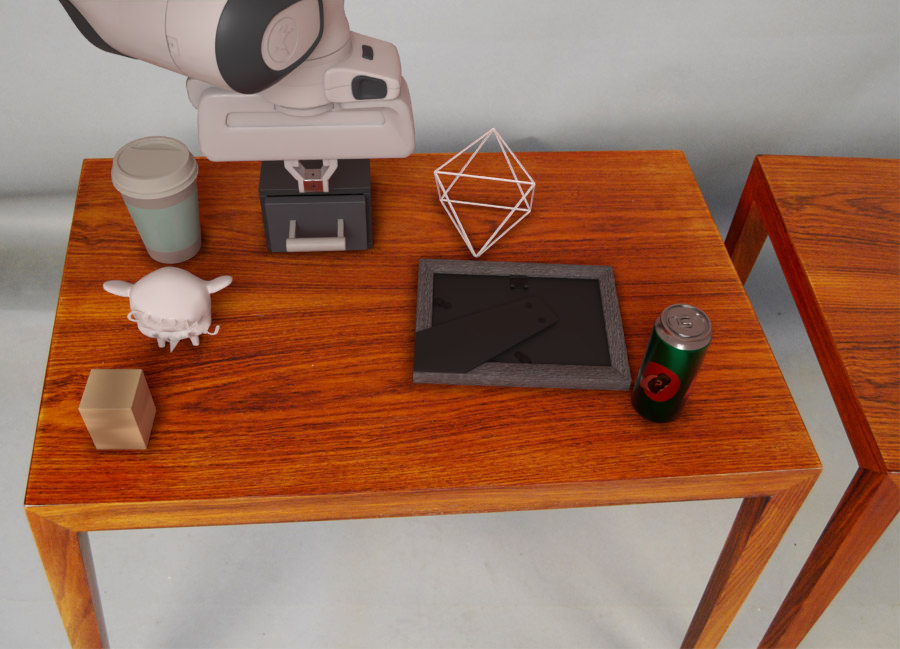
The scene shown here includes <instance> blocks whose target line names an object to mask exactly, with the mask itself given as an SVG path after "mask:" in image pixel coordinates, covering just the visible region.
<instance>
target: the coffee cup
mask: <svg viewBox="0 0 900 649" xmlns="http://www.w3.org/2000/svg"><path fill="white" fill-rule="evenodd" d="M110 174H111V182H112V185H113V187H114V188H115V189H116V190H117V191H118V192H119V193H120V195H121V198H122V200H123V202H124V204H125V207H126V208H127V210H128V213H129V215H130V218H131V219H132V221H133V223H134V225H135V228H136V230H137V232H138V234H139V236H140V238H141V239H140V240H142V243H143V245H144V247H145V249H146V251H147V254H148V255H149V256H150V258H151V259H152V260H154V261H156V262H158V263H161V264H167V265H168V264H169V265H170V264H171V265H173V264H180V263H183V262H186V261H188V260H190V259H192V258H193V257H194V256H196V255H197V254H198V253H199V252H200V250H201V247H202V244H203V243H202V229H201V218H200V217H201V216H200V203H199V192H198V180H197V177H198V175H199V165H198V162H197V160H196V157H195V156H194V154H193V153H192V152H191V151H190V150H189V148H188V146H187V145H186V144H185V143H184V142H182V141H181V140H179V139H177V138H174V137H171V136H165V135H151V136H145V137H140V138H137V139H134V140H131V141H129V142H127V143H126V144H124V145H123V146H122V147H120V148H119V149H118V150H117V151H116V153H115V154H114V156H113V159H112V167H111V171H110Z"/></svg>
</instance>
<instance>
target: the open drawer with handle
mask: <svg viewBox="0 0 900 649" xmlns="http://www.w3.org/2000/svg"><path fill="white" fill-rule="evenodd" d="M265 210H266V217H267V223H268V230H269V236H270V243H271V249H272V251H271V252H272V253H299V252H300V253H301V252H302V253H303V252H304V253H306V252H338V251H367V250H368V249H367V225H366V201H365V195H360V194H316V195H274V197H265Z"/></svg>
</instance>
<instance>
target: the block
mask: <svg viewBox="0 0 900 649" xmlns="http://www.w3.org/2000/svg"><path fill="white" fill-rule="evenodd" d="M77 409H78V412H79V414H80V416H81V418H82V420H83V422H84V424H85V426H86V429H87V431H88V433H89V435H90V438H91V440H92V442H93V445H94V447H95V449H96V450H147V449H148V445H149V442H150V437H151V434H152V433H151V432H152V428H153V426H154V420H155V417H156V413H157V408H156V405H155V402H154V400H153V397H152V393H151V391H150V388H149V385H148V382H147V380H146V377H145V374H144V371H143V369H142V368H91V369H90V372H89V375H88V377H87V381H86V384H85V387H84V390H83V393H82V397H81V399H80V402H79V405H78V408H77Z"/></svg>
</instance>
